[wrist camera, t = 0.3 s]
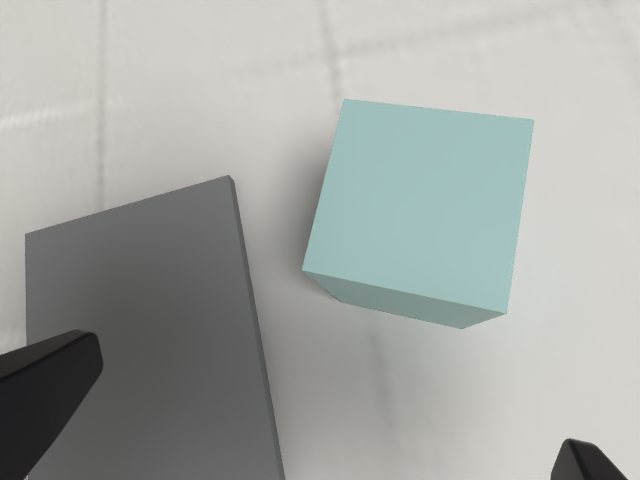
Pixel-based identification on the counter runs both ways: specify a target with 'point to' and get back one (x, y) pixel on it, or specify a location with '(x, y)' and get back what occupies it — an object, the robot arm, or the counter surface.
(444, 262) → the pale teal box
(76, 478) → the mat
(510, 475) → the counter surface
